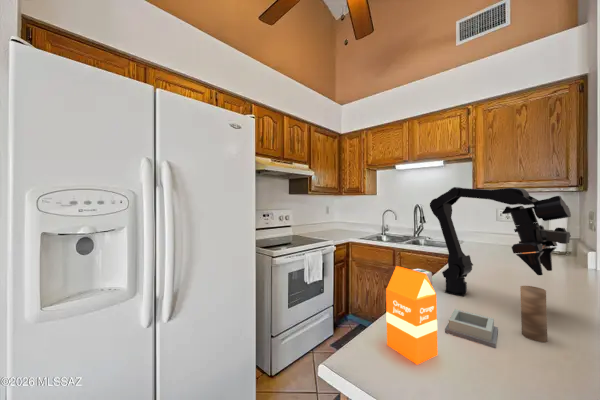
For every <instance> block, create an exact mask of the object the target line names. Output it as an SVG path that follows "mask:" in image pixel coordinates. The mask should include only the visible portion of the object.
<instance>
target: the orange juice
mask: <svg viewBox="0 0 600 400" xmlns="http://www.w3.org/2000/svg"><path fill="white" fill-rule="evenodd" d="M385 290H386V291H385V294H386V296H385V299H386V307H385V309H386V320H385V321H386V345H387V347H389V348H391V349H393V351H396V352H397V353H398V354H400V355H402V356H403V357H404V358H406V359H408V360H409V361H411V362H412V363H414V364H415V365H416V366H418V365H420V364H422V363H424V362H426V361H428V360H430V359H432V358H434V357H437V356H438V355H439V354H438V351H439V350H438V348H439V347H438V316H437V315H438V313H437V309H438V308H437V307H438V306H437V293H436V291H435V288H434V287H433V284H432V285H431V283H430V281H429V279H428V277H427V275H426V274H425V273H421V272H417V271H414V270H413V269H410V268H406V267H402V266H398V265H396V266H395V268H394V270H393V273H392V275H391V277H390V280H389V282H388V284H387V287H386V288H385Z"/></svg>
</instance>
